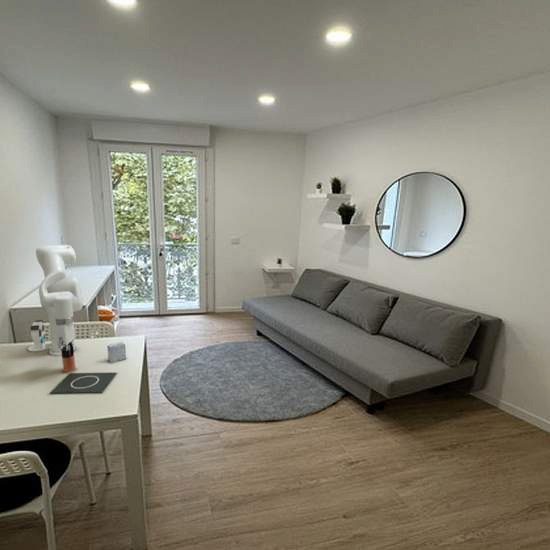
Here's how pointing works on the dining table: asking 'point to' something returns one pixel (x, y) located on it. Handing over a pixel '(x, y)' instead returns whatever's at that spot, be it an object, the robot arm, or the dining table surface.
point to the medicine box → (116, 352)
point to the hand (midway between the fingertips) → (68, 355)
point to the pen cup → (69, 363)
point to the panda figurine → (38, 336)
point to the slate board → (83, 383)
